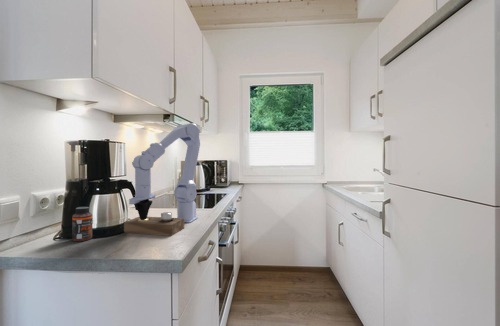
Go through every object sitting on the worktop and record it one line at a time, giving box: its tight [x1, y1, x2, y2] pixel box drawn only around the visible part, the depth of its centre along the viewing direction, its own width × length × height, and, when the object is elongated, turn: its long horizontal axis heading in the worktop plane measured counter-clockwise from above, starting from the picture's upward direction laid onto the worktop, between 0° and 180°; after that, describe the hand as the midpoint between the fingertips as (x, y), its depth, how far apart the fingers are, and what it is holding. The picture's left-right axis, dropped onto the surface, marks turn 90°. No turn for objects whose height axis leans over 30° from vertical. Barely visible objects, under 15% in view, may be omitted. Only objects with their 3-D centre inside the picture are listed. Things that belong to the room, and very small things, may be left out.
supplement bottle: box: [71, 206, 93, 242], centre depth 91 cm, size 6×6×11 cm
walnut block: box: [123, 216, 185, 236], centre depth 103 cm, size 10×20×4 cm, turn 79°
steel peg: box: [160, 211, 173, 223], centre depth 102 cm, size 4×4×4 cm
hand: (143, 219), depth 103 cm, fingers closed, pressing on brass peg
